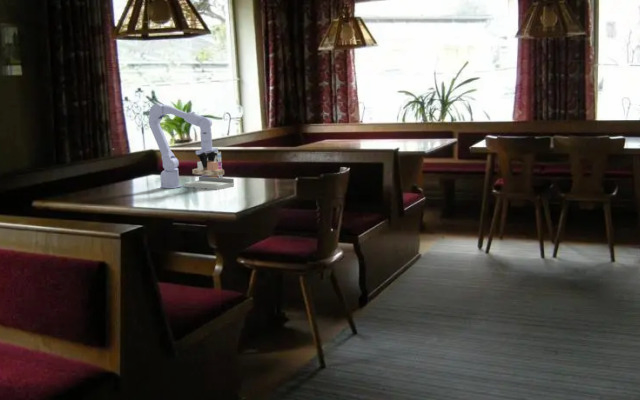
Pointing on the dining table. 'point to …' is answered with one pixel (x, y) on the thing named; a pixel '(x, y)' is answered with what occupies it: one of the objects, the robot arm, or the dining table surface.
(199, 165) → the white cube
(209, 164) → the salmon pink cube
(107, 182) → the dining table surface
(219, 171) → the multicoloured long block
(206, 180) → the dock
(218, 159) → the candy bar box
